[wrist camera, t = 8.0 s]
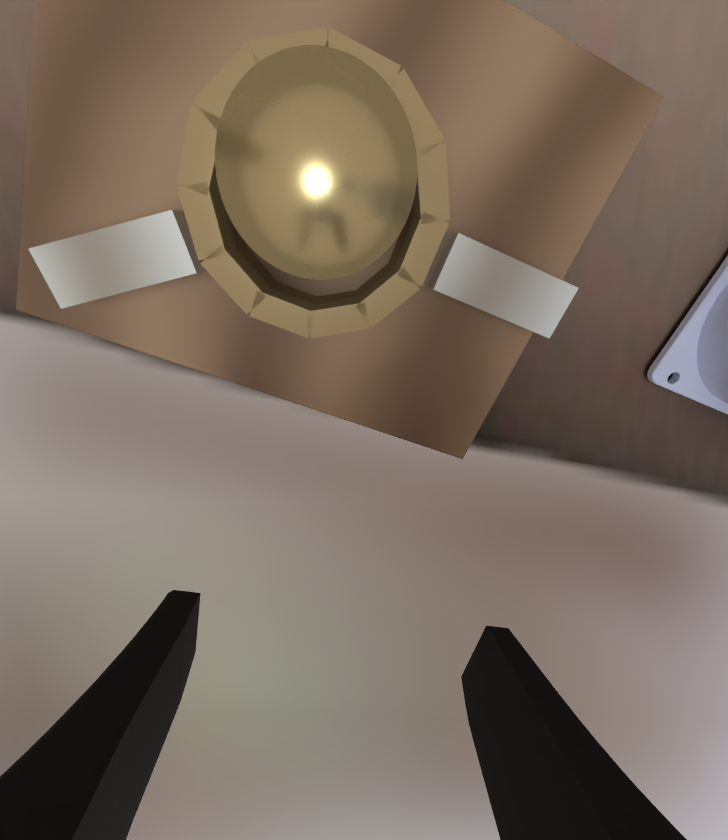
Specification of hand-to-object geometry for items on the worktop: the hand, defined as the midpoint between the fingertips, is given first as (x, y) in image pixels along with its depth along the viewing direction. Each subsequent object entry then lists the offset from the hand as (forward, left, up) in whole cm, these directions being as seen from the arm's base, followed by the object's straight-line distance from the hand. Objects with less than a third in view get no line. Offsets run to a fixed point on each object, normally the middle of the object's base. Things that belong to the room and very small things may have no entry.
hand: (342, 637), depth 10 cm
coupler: (+4, -10, -8) cm, 13 cm away
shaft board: (+4, -9, -9) cm, 14 cm away
